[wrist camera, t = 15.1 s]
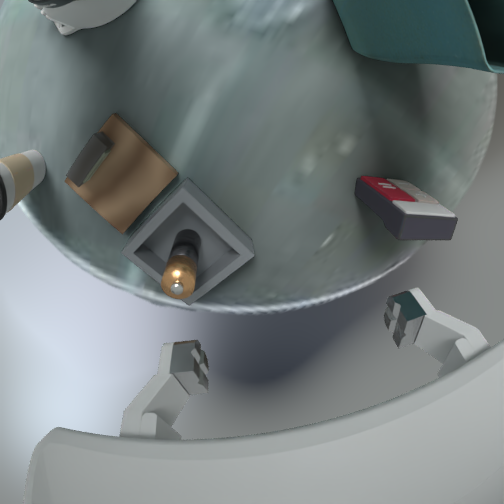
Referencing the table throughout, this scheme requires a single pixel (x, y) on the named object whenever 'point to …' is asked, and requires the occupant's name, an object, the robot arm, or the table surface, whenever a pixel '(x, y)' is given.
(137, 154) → the plate
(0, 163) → the coffee cup
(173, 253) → the battery cell
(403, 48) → the flower pot
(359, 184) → the grey box
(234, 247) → the bin
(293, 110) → the table surface
